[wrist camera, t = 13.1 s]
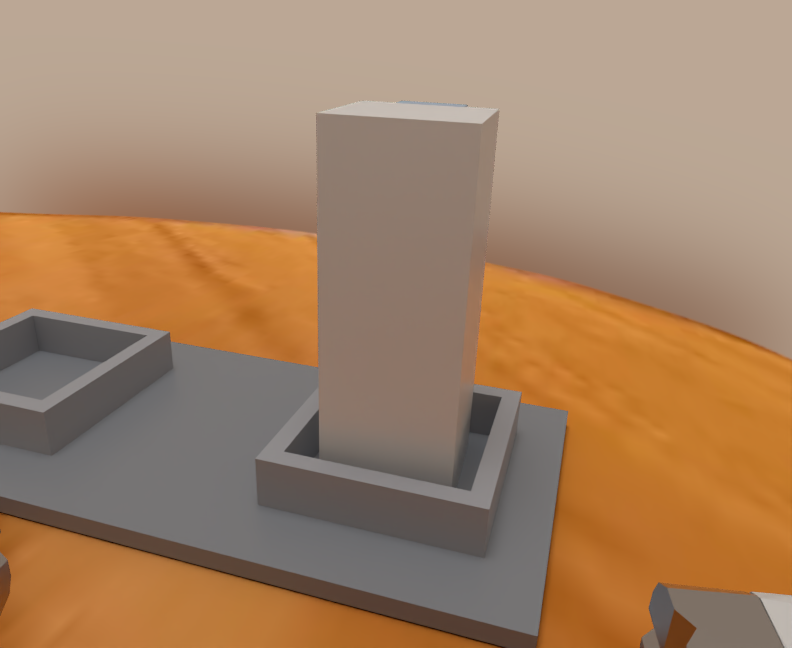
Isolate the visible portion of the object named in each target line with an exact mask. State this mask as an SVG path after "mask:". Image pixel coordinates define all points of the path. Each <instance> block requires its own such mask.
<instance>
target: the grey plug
mask: <svg viewBox="0 0 792 648" xmlns="http://www.w3.org/2000/svg"><path fill="white" fill-rule="evenodd" d="M467 106H468V105H461V104H445V103H428V102H411V101H400V102H396V103H393V102H376V101H360V102H356V103H352V104H348V105H345V106H341V107H337V108H334V109H329V110H326V111H322V112H318V113H316V123H317V124H316V129H317V130H316V131H317V132H316V134H317V135H316V136H317V253H318V370H319V459H321V460H326V461H331V462H335V463H340V464H345V465H350V466H354V467H359V468H364V469H368V470H373V471H378V472H383V473H387V474H392V475H397V476H401V477H406V478H411V479H416V480H420V481H425V482H430V483H434V484H439V485H444V486H449V487H453V488H456V487H457V483H458V479H459V476H460V472H461V468H462V464H463V460H464V457H465V453H466V449H467V445H468V441H469V431H470V420H471V409H472V398H473V387H474V377H475V366H476V355H477V344H478V334H479V323H480V312H481V301H482V290H483V280H484V269H485V258H486V246H487V236H488V225H489V215H490V204H491V193H492V183H493V172H494V161H495V150H496V138H497V128H498V118H499V109H492V108H476V107H467Z"/></svg>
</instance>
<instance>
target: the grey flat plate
mask: <svg viewBox="0 0 792 648" xmlns="http://www.w3.org/2000/svg"><path fill="white" fill-rule="evenodd" d="M521 394H522V392H518V391H512V390H506V389H500V388H494V387H488V386H482V385H477V384H474V387H473V398H472V409H471V420H470V431H469V441H468V445H467V449H466V453H465V457H464V460H463V464H462V468H461V472H460V476H459V479H458V483H457V487H456V488H453V487H449V486H444V485H439V484H434V483H430V482H425V481H420V480H416V479H411V478H406V477H401V476H397V475H392V474H387V473H383V472H378V471H373V470H368V469H364V468H359V467H354V466H350V465H345V464H340V463H335V462H331V461H326V460H321V459H319V370H318V367H313V366H307V365H301V364H295V363H290V362H284V361H278V360H273V359H267V358H261V357H255V356H250V355H244V354H238V353H233V352H227V351H221V350H215V349H210V348H204V347H198V346H193V345H187V344H181V343H175V342H171V340H170V332H167V331H161V330H155V329H149V328H143V327H137V326H132V325H126V324H120V323H114V322H108V321H102V320H96V319H91V318H85V317H79V316H73V315H67V314H61V313H56V312H50V311H44V310H38V309H30V310H28V311H25V312H23V313H21V314H19V315H16V316H14V317H12V318H10V319H7V320H5V321H3V322H1V323H0V512H2V513H6V514H10V515H14V516H17V517H21V518H25V519H28V520H32V521H36V522H40V523H43V524H47V525H51V526H55V527H58V528H62V529H66V530H69V531H73V532H77V533H81V534H84V535H88V536H92V537H96V538H99V539H103V540H107V541H111V542H114V543H118V544H122V545H125V546H129V547H133V548H137V549H140V550H144V551H148V552H152V553H155V554H159V555H163V556H166V557H170V558H174V559H178V560H181V561H185V562H189V563H193V564H196V565H200V566H204V567H207V568H211V569H215V570H219V571H222V572H226V573H230V574H234V575H237V576H241V577H245V578H248V579H252V580H256V581H260V582H263V583H267V584H271V585H275V586H278V587H282V588H286V589H290V590H293V591H297V592H301V593H304V594H308V595H312V596H316V597H319V598H323V599H327V600H331V601H334V602H338V603H342V604H345V605H349V606H353V607H357V608H360V609H364V610H368V611H372V612H375V613H379V614H383V615H386V616H390V617H394V618H398V619H401V620H405V621H409V622H413V623H416V624H420V625H424V626H428V627H431V628H435V629H439V630H442V631H446V632H450V633H454V634H457V635H461V636H465V637H469V638H472V639H476V640H480V641H483V642H487V643H491V644H495V645H498V646H502V647H506V648H536V644H537V638H538V630H539V623H540V616H541V608H542V601H543V593H544V586H545V578H546V571H547V563H548V556H549V549H550V541H551V534H552V526H553V519H554V511H555V504H556V497H557V489H558V482H559V474H560V467H561V459H562V452H563V444H564V437H565V430H566V422H567V415H568V411H564V410H558V409H552V408H547V407H541V406H535V405H530V404H524V403H520V402H521Z"/></svg>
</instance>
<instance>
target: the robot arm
mask: <svg viewBox="0 0 792 648" xmlns="http://www.w3.org/2000/svg"><path fill="white" fill-rule="evenodd" d="M0 533H1V531H0ZM10 581H11V574H10V569H9V565H8V560H7V559H6V558H5V557H4V556H3V555H2V554H1V553H0V615H1V613H2V610H3V608H4V606H5V603H6V601H7V599H8V596H9V593H10ZM649 611H650V615H651V618H652V622H653V625H654V629H652V630H651V631H650V632H648V633H647V634H646V635H644V636H643V637H642V638H641V643H640V648H792V596H791V595H781V594H771V593H760V592H750V593H748V592H743V591H734V590H724V589H715V588H706V587H696V586H687V585H677V584H668V583H658V584H657V586H656V588H655V589H654V591H653V594H652V598H651V602H650V605H649Z"/></svg>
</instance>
